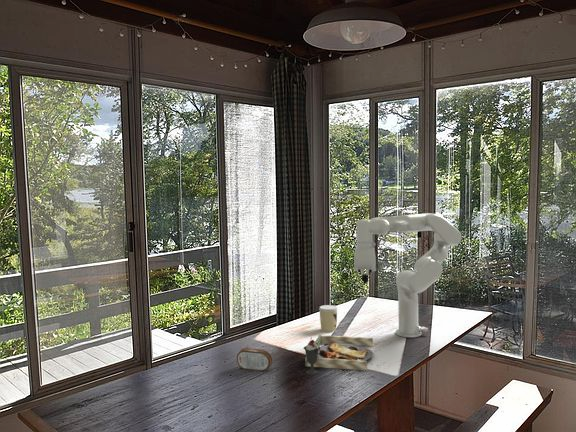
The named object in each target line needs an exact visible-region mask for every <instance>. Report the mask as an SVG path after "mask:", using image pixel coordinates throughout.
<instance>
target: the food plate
mask: <svg viewBox="0 0 576 432" xmlns="http://www.w3.org/2000/svg"><path fill="white" fill-rule="evenodd" d="M319 347H320V350H318V357H317V358H330V359H346V360H362V361H367V360H369V359H371V358H373V357H374V352H373V350H371V349H370V348H367V347H366V346H361V345H354V344H353V345H352V344H342V343H341V344H336V343H335V342H332V343H331V344H326V345H323V346H322V345H321V346H319Z"/></svg>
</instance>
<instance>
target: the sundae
mask: <svg viewBox="0 0 576 432" xmlns="http://www.w3.org/2000/svg"><path fill="white" fill-rule="evenodd" d="M312 338H313V337H310V339H309V342H308V343H307V345H305V346H304V347H303V350H304V351H305V357H306V358H307V362H308V363H310V364H311V367H310V369H309V370H306V372H305V373H306V374H307V375H308V376H309V375H310V376H314V375H318V374H319V371H318V370H316V369H315V367H314V364H315V363H316V362H317V358H318V350H320V347H321V346H317V343H316V342H315V341H316V340H314V339H312Z"/></svg>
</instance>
